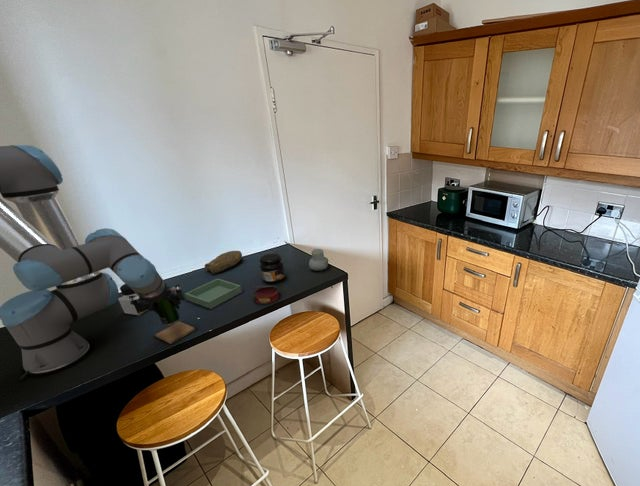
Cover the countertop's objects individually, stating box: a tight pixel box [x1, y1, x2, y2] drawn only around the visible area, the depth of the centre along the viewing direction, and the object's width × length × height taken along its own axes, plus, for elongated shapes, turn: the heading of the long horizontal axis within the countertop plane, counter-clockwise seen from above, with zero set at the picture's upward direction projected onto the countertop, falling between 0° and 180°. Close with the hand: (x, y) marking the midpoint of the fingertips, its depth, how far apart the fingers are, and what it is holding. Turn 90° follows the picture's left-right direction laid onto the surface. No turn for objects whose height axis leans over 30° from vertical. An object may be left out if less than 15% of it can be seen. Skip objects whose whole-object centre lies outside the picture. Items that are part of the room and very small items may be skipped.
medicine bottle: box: [117, 283, 149, 316], centre depth 126 cm, size 7×7×12 cm
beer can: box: [154, 299, 180, 326], centre depth 110 cm, size 5×5×12 cm
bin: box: [184, 278, 243, 310], centre depth 138 cm, size 16×16×3 cm
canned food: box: [251, 284, 280, 305], centre depth 136 cm, size 11×10×10 cm
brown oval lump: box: [204, 250, 243, 275], centre depth 165 cm, size 13×8×20 cm
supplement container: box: [258, 252, 286, 285], centre depth 150 cm, size 10×10×12 cm
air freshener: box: [308, 248, 329, 272], centre depth 161 cm, size 11×8×10 cm
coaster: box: [154, 321, 196, 344], centre depth 115 cm, size 9×9×1 cm
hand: (167, 307), depth 114 cm, fingers closed on beer can, 5 cm apart
